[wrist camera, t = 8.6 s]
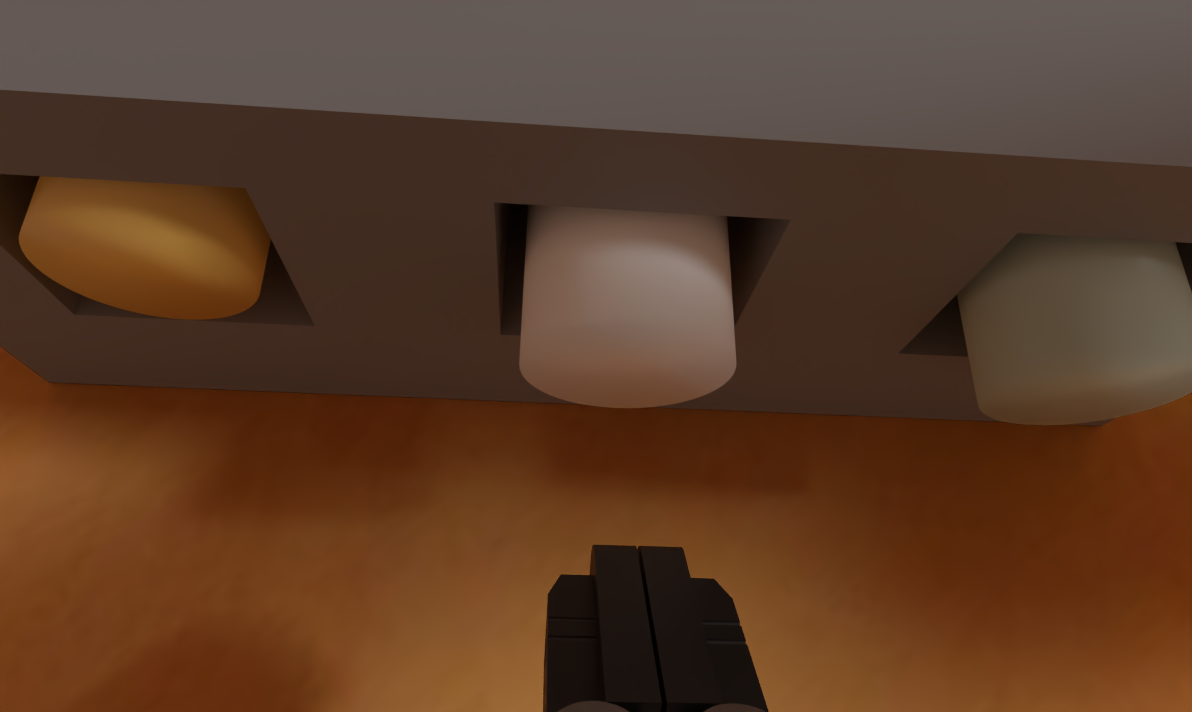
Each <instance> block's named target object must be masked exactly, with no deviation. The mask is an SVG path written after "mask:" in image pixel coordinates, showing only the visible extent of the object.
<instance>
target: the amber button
mask: <svg viewBox="0 0 1192 712" xmlns="http://www.w3.org/2000/svg"><path fill="white" fill-rule="evenodd" d="M270 242H271V238H270V236H269V234H268V232H267V230H266V228H265V226H264V224H263V222H262V220H261V218H260V216H259V214H258V212H257V210H256V208H255V206H254V204H253V202H252V200H251V198H250V196H249V194H248V192H247V190H246V188H235V187H218V186H200V185H183V184H166V183H149V182H131V181H114V180H97V179H80V178H63V177H45V176H40V177H39V179H38V182H37V185H36V188H35V191H34V194H33V196H32V199H31V202H30V205H29V208H28V210H27V213H26V216H25V219H24V222H23V225H22V227H21V230H20V234H19V244H20V247H21V249H22V251H23V253H24V254H25V256H26V258H27V259H28V260H29V261H30V262H31V263H32V264H33V265H34V266H35V267H36V268H37V269H38V270H40V271H41V272H42V273H43V274H45V275H46V276H48V277H49V278H51V279H52V280H54V281H55V282H57V283H59V284H60V285H62V286H64V287H66V288H68V289H70V290H72V291H74V292H76V293H78V294H81V295H83V296H85V297H87V298H90V299H93V300H95V301H98V302H101V303H104V304H107V305H110V306H113V307H116V308H120V309H123V310H127V311H131V312H136V313H140V314H145V315H150V316H156V317H163V318H171V319H185V320H204V319H216V318H223V317H228V316H232V315H235V314H238V313H241V312H243V311H245V310H247V309H248V308H250V307H251V306H253V305H254V303H255V302H256V301H257V299H258V297H259V295H260V290H261V285H262V281H263V276H264V271H265V266H266V261H267V256H268V251H269V246H270Z"/></svg>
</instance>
